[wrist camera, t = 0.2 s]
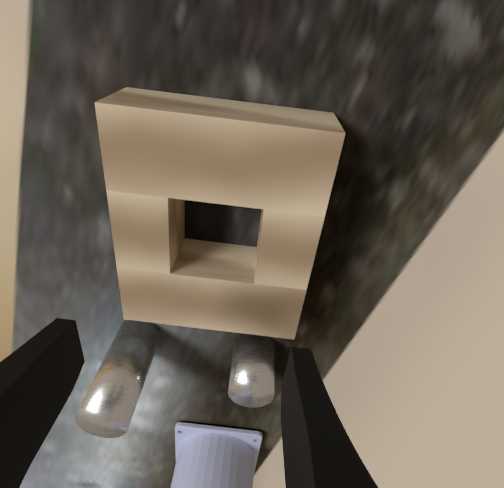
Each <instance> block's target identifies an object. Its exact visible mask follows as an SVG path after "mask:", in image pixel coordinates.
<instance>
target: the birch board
mask: <svg viewBox="0 0 504 488" xmlns="http://www.w3.org/2000/svg"><path fill="white" fill-rule="evenodd" d="M95 109H96V117H97V124H98V132H99V139H100V147H101V154H102V161H103V169H104V176H105V184H106V191H107V199H108V206H109V213H110V221H111V228H112V236H113V243H114V251H115V258H116V266H117V273H118V280H119V288H120V295H121V303H122V310H123V318H124V319H125V320H134V321H142V322H151V323H159V324H168V325H176V326H184V327H193V328H201V329H210V330H218V331H227V332H235V333H243V334H252V335H260V336H269V337H277V338H286V339H295V335H296V331H297V327H298V323H299V319H300V315H301V311H302V307H303V303H304V299H305V295H306V291H307V287H308V283H309V279H310V275H311V271H312V267H313V263H314V259H315V254H316V250H317V246H318V242H319V238H320V234H321V230H322V226H323V222H324V218H325V214H326V210H327V206H328V202H329V198H330V194H331V190H332V186H333V182H334V178H335V174H336V170H337V166H338V162H339V158H340V154H341V150H342V146H343V142H344V138H345V134H346V133H345V131H344V130H343V128H342V126H341V124H340V123H339V121H338V119H337V118H336V116H335V114H334V113H331V112H323V111H315V110H307V109H299V108H291V107H283V106H275V105H266V104H258V103H250V102H242V101H234V100H226V99H218V98H210V97H201V96H193V95H185V94H177V93H169V92H161V91H153V90H145V89H136V88H128V87H126V88H124V89H122V90H120V91H117V92H115V93H113V94H111V95H109V96H107V97H105V98H103V99H101V100H99V101H97V102H95ZM185 200H190V201H198V202H206V203H215V204H223V205H231V206H239V207H248V208H256V209H262V212H261V220H260V227H259V235H258V242H257V247H253V246H245V245H237V244H228V243H220V242H212V241H203V240H195V239H187V238H185Z"/></svg>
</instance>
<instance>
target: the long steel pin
mask: <svg viewBox="0 0 504 488" xmlns="http://www.w3.org/2000/svg"><path fill="white" fill-rule="evenodd" d="M160 338H161V332H160V330H159V328H158V327H157V326H156V325H155V324H154V323H151V322H142V321H134V320H125V321H124V322H123V323H122V324H121V326H120V328H119V330H118V332H117V334H116V336H115V338H114V340H113V342H112V344H111V346H110V348H109V350H108V352H107V354H106V356H105V358H104V360H103V362H102V364H101V366H100V368H99V370H98V372H97V374H96V376H95V378H94V380H93V382H92V384H91V386H90V388H89V390H88V392H87V394H86V396H85V398H84V400H83V402H82V404H81V406H80V408H79V410H78V412H77V414H76V416H75V420H76V423H77V424H78V426H79V427H80V428H81V429H83V430H84V431H86V432H88V433H90V434H92V435H95V436H99V437H104V438H115V437H120V436H122V435H124V434H125V433H126V432H127V429H128V427H129V424H130V421H131V418H132V415H133V413H134V410H135V407H136V404H137V402H138V399H139V396H140V393H141V390H142V388H143V385H144V382H145V379H146V377H147V374H148V371H149V368H150V366H151V363H152V360H153V357H154V354H155V352H156V349H157V346H158V343H159V341H160Z"/></svg>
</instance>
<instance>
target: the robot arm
mask: <svg viewBox="0 0 504 488" xmlns="http://www.w3.org/2000/svg"><path fill="white" fill-rule="evenodd" d="M83 364H84V356H83V352H82V348H81V343H80V339H79V334H78V330H77V326H76V321H75V320H67V319H59V318H57V319H55V320H54V321H53V322H51V323H50V324H49V325H48V326H46V327H45V328H44V329H42V330H41V331H40V332H39V333H37V334H36V335H35V336H34V337H32V338H31V339H30V340H28V341H27V342H26V343H25V344H23V345H22V346H21V347H20V348H18V349H17V350H16V351H14V352H13V353H12V354H11V355H9V356H8V357H7V358H5V359H4V360H3V361H1V362H0V488H19V487H20V485H21V483H22V480H23V478H24V476H25V474H26V472H27V470H28V468H29V467H30V465H31V463H32V461H33V459H34V457H35V455H36V454H37V452H38V450H39V448H40V447H41V445H42V443H43V442H44V440H45V438H46V436H47V435H48V433H49V431H50V429H51V428H52V426H53V424H54V422H55V421H56V419H57V417H58V415H59V414H60V412H61V410H62V408H63V406H64V405H65V403H66V401H67V399H68V397H69V396H70V394H71V392H72V390H73V388H74V385H75V383H76V381H77V379H78V376H79V374H80V371H81V369H82V366H83ZM281 426H282V440H283V454H284V468H285V481H286V488H378V487H377V485H376V484H375V482H374V481H373V479H372V477H371V475H370V474H369V473H368V471H367V469H366V467H365V465H364V464H363V462H362V460H361V459H360V457H359V455H358V453H357V452H356V450H355V448H354V446H353V444H352V442H351V441H350V439H349V437H348V435H347V433H346V431H345V429H344V427H343V425H342V423H341V421H340V419H339V417H338V415H337V413H336V410H335V408H334V406H333V404H332V402H331V400H330V398H329V395H328V393H327V391H326V388H325V386H324V383H323V381H322V378H321V376H320V373H319V371H318V368H317V365H316V362H315V359H314V356H313V353H312V351H311V350H310V349H305V348H297V347H291V350H290V354H289V358H288V362H287V366H286V370H285V374H284V378H283V382H282V394H281ZM261 442H262V433H261V432H260V431H253V430H245V429H236V428H227V427H219V426H210V425H202V424H193V423H184V422H178V423H176V425H175V448H176V466H175V470H174V475H173V479H172V484H171V488H252V483H253V477H254V472H255V468H256V464H257V459H258V455H259V450H260V446H261Z"/></svg>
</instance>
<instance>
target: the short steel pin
mask: <svg viewBox="0 0 504 488" xmlns="http://www.w3.org/2000/svg"><path fill="white" fill-rule="evenodd" d="M274 353H275V345H274V342H273V340H272V339H271V337H269V336H260V335H252V334H243V333H242V334H241V335H239V336H238V337H237V338H236V340H235V343H234V350H233V358H232V365H231V373H230V381H229V388H228V395H229V397H230V398H231V400H233V401H234V402H235V403H237V404H239V405H242V406H245V407H261V406H264V405H267V404H268V403H270V402H271V401H272V400H273V398H274Z"/></svg>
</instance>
